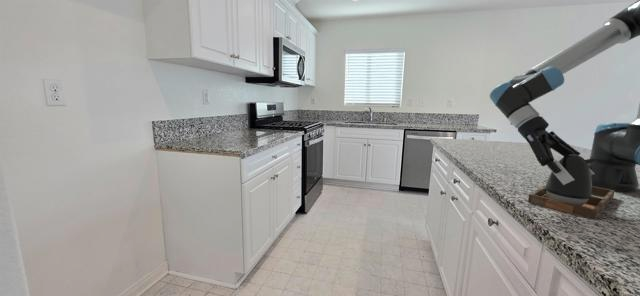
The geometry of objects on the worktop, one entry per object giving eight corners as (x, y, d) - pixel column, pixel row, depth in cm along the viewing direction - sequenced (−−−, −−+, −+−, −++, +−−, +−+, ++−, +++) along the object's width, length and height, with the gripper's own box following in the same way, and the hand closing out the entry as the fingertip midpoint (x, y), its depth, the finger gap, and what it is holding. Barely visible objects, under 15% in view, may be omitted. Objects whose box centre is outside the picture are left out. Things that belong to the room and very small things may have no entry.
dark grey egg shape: (599, 212, 75) (611, 159, 72) (556, 208, 77) (566, 157, 74) (573, 199, 85) (583, 152, 82) (535, 196, 87) (544, 150, 84)
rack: (555, 185, 99) (556, 179, 98) (613, 197, 87) (614, 190, 87) (527, 202, 82) (528, 194, 82) (594, 220, 70) (596, 211, 70)
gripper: (536, 128, 96) (583, 180, 86) (496, 131, 85) (545, 191, 74) (557, 114, 91) (610, 167, 81) (518, 115, 79) (574, 178, 69)
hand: (579, 179), depth 77 cm, fingers open, 13 cm apart
